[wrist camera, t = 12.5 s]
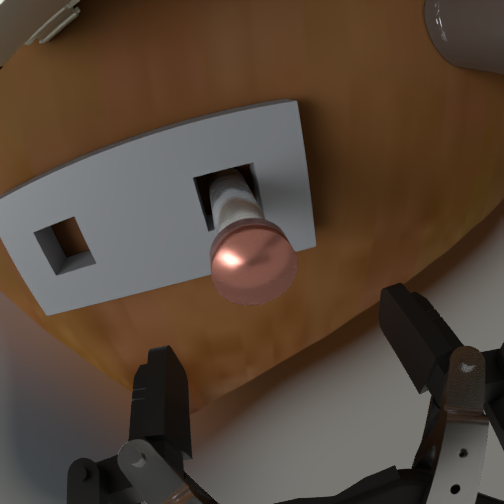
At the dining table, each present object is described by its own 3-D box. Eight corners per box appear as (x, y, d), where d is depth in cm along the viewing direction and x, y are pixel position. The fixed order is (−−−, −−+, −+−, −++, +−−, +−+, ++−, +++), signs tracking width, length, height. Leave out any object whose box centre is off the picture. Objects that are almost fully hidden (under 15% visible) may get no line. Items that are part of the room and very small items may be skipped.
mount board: (284, 98, 22) (296, 100, 19) (304, 230, 28) (316, 246, 26) (2, 194, 20) (-14, 206, 18) (55, 296, 27) (46, 315, 24)
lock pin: (245, 156, 24) (292, 222, 13) (255, 200, 26) (301, 292, 15) (196, 168, 23) (200, 246, 13) (208, 212, 26) (223, 314, 15)
